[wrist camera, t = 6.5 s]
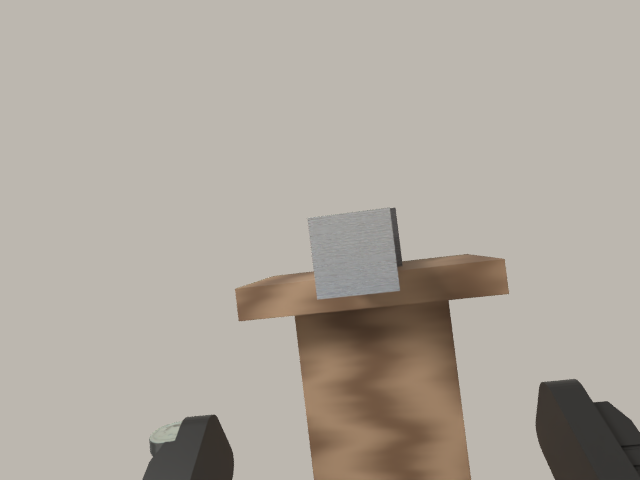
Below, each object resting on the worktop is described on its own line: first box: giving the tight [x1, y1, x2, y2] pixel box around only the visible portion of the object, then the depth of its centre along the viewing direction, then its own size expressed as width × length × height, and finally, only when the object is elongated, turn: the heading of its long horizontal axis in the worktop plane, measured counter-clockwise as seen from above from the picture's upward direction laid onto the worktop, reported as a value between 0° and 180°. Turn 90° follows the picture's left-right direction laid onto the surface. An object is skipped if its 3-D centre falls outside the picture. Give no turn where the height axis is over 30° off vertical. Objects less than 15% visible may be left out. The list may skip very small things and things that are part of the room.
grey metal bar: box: [308, 208, 403, 300], centre depth 25 cm, size 5×20×4 cm, turn 173°
